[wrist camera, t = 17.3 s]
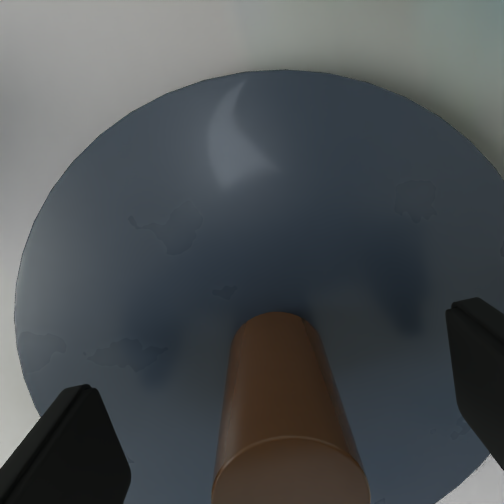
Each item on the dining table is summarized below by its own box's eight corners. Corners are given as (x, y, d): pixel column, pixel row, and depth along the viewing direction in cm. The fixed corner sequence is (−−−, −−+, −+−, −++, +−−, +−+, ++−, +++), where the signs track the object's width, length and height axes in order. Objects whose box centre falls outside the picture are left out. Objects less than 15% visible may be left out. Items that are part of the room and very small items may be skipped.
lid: (-50, 157, 11) (-389, 171, 5) (499, 6, 10) (847, -192, 4) (126, 554, 15) (44, 811, 9) (534, 479, 14) (734, 721, 8)
